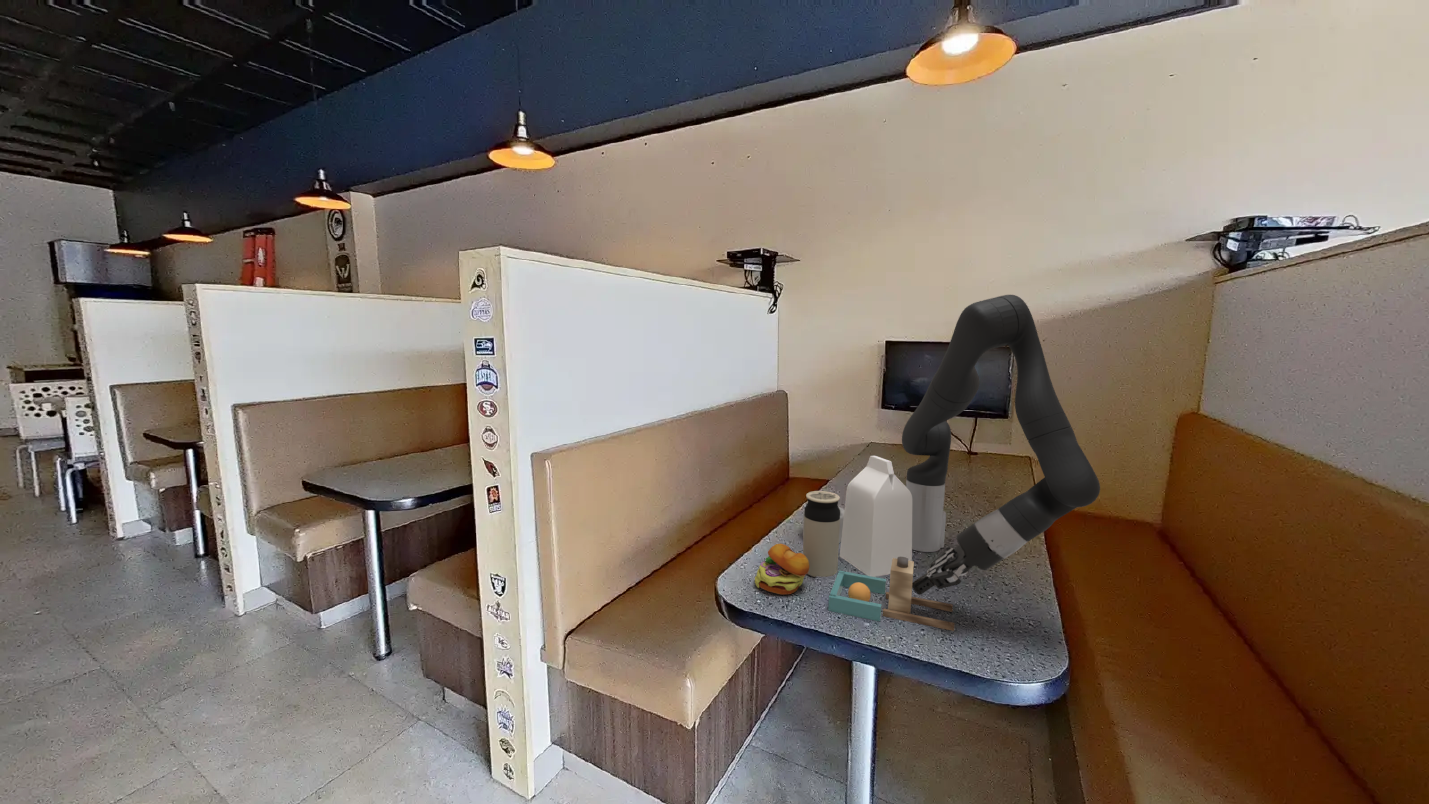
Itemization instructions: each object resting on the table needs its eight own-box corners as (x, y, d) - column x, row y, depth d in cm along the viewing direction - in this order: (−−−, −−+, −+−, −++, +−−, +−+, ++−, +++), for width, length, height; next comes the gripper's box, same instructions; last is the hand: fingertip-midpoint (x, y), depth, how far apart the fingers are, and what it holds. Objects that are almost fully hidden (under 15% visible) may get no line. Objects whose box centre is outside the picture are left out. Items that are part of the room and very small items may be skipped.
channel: (952, 610, 102) (952, 604, 102) (954, 631, 95) (954, 625, 95) (885, 597, 107) (886, 591, 107) (882, 616, 100) (882, 610, 99)
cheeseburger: (749, 575, 117) (760, 533, 116) (794, 584, 118) (805, 543, 117) (757, 597, 107) (769, 551, 106) (805, 607, 108) (818, 562, 107)
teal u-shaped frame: (885, 594, 109) (886, 579, 109) (880, 624, 98) (881, 607, 97) (838, 585, 113) (839, 570, 112) (828, 613, 101) (828, 596, 101)
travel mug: (840, 579, 116) (844, 501, 113) (805, 578, 116) (808, 501, 113) (833, 563, 124) (836, 490, 121) (799, 563, 124) (802, 490, 121)
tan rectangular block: (910, 604, 104) (914, 554, 103) (909, 618, 99) (913, 567, 97) (890, 599, 106) (893, 551, 104) (887, 614, 100) (891, 563, 99)
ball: (855, 577, 108) (864, 597, 108) (840, 588, 106) (849, 608, 106) (869, 579, 104) (878, 599, 104) (853, 590, 102) (863, 611, 102)
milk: (839, 558, 126) (844, 454, 123) (878, 552, 130) (884, 451, 127) (869, 580, 115) (876, 466, 112) (911, 573, 119) (919, 463, 116)
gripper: (973, 511, 101) (903, 560, 107) (979, 535, 89) (899, 589, 95) (1001, 542, 100) (929, 589, 106) (1011, 570, 88) (928, 622, 94)
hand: (915, 589), depth 101 cm, fingers closed
